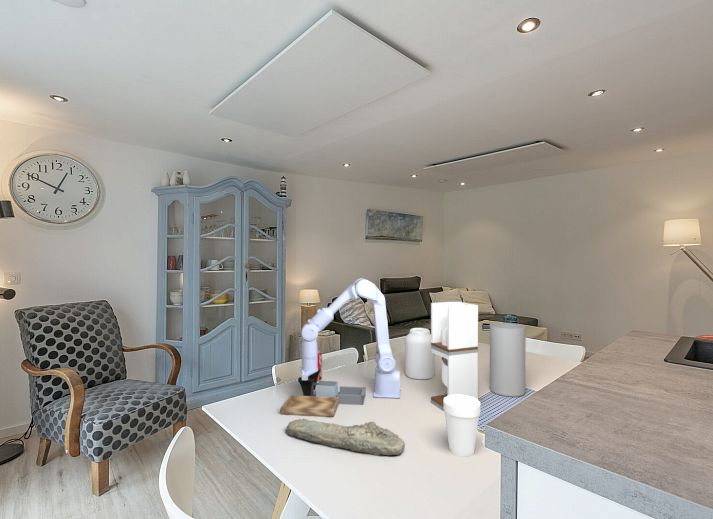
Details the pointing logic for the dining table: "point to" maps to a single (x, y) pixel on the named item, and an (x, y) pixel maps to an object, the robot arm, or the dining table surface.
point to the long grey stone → (348, 436)
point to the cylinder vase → (507, 359)
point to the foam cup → (461, 423)
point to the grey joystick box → (325, 389)
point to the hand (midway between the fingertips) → (309, 393)
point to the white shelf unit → (456, 347)
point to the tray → (310, 406)
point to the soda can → (319, 364)
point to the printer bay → (352, 395)
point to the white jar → (419, 354)
